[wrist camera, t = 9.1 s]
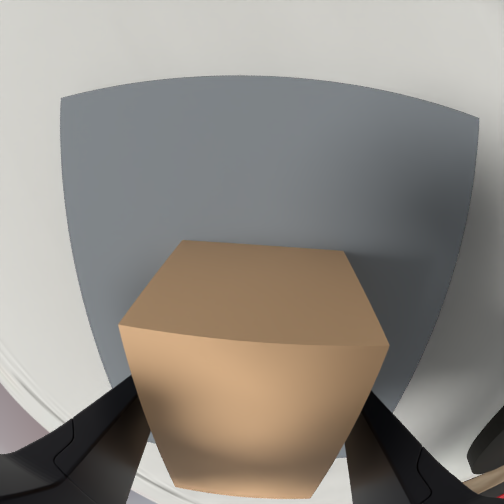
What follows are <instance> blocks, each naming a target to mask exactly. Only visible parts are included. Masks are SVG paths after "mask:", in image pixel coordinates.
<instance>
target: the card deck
mask: <svg viewBox="0 0 504 504" xmlns="http://www.w3.org/2000/svg"><path fill="white" fill-rule="evenodd" d="M118 326H119V330H120V334H121V338H122V342H123V346H124V350H125V354H126V357H127V361H128V364H129V368H130V371H131V374H132V378H133V381H134V384H135V387H136V390H137V393H138V396H139V399H140V402H141V405H142V408H143V411H144V414H145V416H146V419H147V422H148V425H149V427H150V430H151V432H152V435H153V437H154V440H155V442H156V445H157V447H158V450H159V452H160V454H161V457H162V459H163V461H164V464H165V466H166V468H167V470H168V472H169V475H170V477H171V479H172V481H173V483H174V485H175V487H179V488H184V489H189V490H194V491H200V492H207V493H213V494H221V495H230V496H240V497H252V498H272V499H308V498H311V496H312V495H313V493H314V492H315V491H316V489H317V488H318V486H319V484H320V483H321V481H322V480H323V478H324V477H325V475H326V474H327V472H328V470H329V469H330V467H331V465H332V464H333V462H334V460H335V459H336V457H337V455H338V454H339V452H340V450H341V448H342V447H343V445H344V443H345V441H346V439H347V438H348V436H349V434H350V432H351V430H352V428H353V426H354V424H355V422H356V420H357V418H358V416H359V414H360V412H361V410H362V408H363V406H364V404H365V402H366V400H367V398H368V396H369V394H370V391H371V389H372V387H373V385H374V382H375V380H376V378H377V376H378V373H379V371H380V368H381V366H382V364H383V361H384V359H385V356H386V354H387V351H388V349H389V346H390V345H389V343H388V340H387V338H386V336H385V334H384V332H383V329H382V327H381V325H380V323H379V321H378V319H377V317H376V314H375V312H374V310H373V308H372V306H371V304H370V302H369V300H368V298H367V296H366V294H365V292H364V290H363V288H362V286H361V284H360V282H359V280H358V278H357V276H356V274H355V272H354V270H353V268H352V266H351V264H350V262H349V261H348V259H347V257H346V255H345V253H344V251H338V250H324V249H310V248H296V247H281V246H267V245H252V244H237V243H222V242H207V241H191V240H182V241H181V242H180V244H179V245H178V246H177V247H176V249H175V250H174V251H173V252H172V254H171V255H170V256H169V257H168V259H167V260H166V261H165V262H164V264H163V265H162V266H161V268H160V269H159V270H158V271H157V273H156V274H155V275H154V277H153V278H152V279H151V281H150V282H149V283H148V285H147V286H146V287H145V289H144V290H143V291H142V293H141V294H140V295H139V297H138V298H137V299H136V301H135V302H134V303H133V305H132V306H131V307H130V309H129V310H128V311H127V313H126V314H125V316H124V317H123V318H122V320H121V321H120V322H119V324H118Z"/></svg>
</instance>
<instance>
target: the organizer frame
mask: <svg viewBox="0 0 504 504" xmlns="http://www.w3.org/2000/svg"><path fill="white" fill-rule="evenodd" d="M502 482H504V465H503V466H501V467H499V468H497V469H495V470H492V471H490V472H487V473H485V474H483V475H480V476H478V477H475V478H473V479H471V480H468V481H465V482H463V484H465V485H466V486H467V487H468V488H470V489H471V490H472V491H474V492H476V493H478V494H480V493H482V492H484V491H486V490H488V489H490V488H492V487H494V486H496V485H498V484H500V483H502Z"/></svg>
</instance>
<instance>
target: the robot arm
mask: <svg viewBox="0 0 504 504" xmlns="http://www.w3.org/2000/svg"><path fill="white" fill-rule="evenodd" d="M150 432H151V430H150V427H149V425H148V422H147V419H146V416H145V414H144V411H143V408H142V405H141V402H140V399H139V396H138V393H137V390H136V387H135V384H134V381H133V378H132V374H131V375H130V376H129V377H127V378H126V379H125V380H123V381H122V382H121V383H119V384H118V385H117V386H115V387H114V388H113V389H111V390H110V391H109V392H107V393H106V394H104V395H103V396H102V397H100V398H99V399H98V400H96V401H95V402H94V403H92V404H91V405H89V406H88V407H87V408H85V409H84V410H83V411H81V412H80V413H78V414H77V415H76V416H74V417H73V419H70V420H69V421H67V422H66V423H64V424H63V425H61V426H60V427H59V428H57V429H56V430H54V431H52V432H51V433H49V434H47V435H46V436H44V437H42V438H40V439H39V440H37V441H35V442H33V443H31V444H29V445H27V446H25V447H24V448H21V449H20V450H18V451H15V452H12V453H8V454H0V504H126V501H127V498H128V495H129V492H130V489H131V487H132V484H133V481H134V478H135V475H136V472H137V469H138V466H139V463H140V460H141V458H142V455H143V452H144V449H145V446H146V443H147V441H148V438H149V435H150ZM344 444H345V451H346V457H347V464H348V471H349V478H350V485H351V493H352V501H353V504H504V498H495V497H488V496H483V495H480V494H478V493H476V492H474V491H472V490H471V489H470V488H468V487H467V486H466V485H465V484H463V483H462V482H461V481H460V480H458V479H457V478H456V477H455V476H454V475H452V474H451V473H450V472H449V471H448V470H447V469H445V468H444V467H443V466H442V465H441V464H440V463H439V462H438V461H437V460H436V459H435V458H434V457H433V456H432V455H431V454H430V453H429V452H428V451H427V450H426V449H425V448H424V447H422V445H421V444H420V442H419V441H418V440H417V439H416V438H415V437H414V436H413V435H412V434H411V433H410V432H409V431H408V429H407V428H406V427H405V426H404V425H403V424H402V423H401V422H400V421H399V420H398V419H397V418H396V416H395V415H394V414H393V413H392V412H391V411H390V410H389V409H388V408H387V407H386V406H385V405H384V403H383V402H382V401H381V400H380V399H379V398H378V397H377V396H376V395H375V394H374V393H373V391H372V390H371V391H370V394H369V396H368V398H367V400H366V402H365V404H364V406H363V408H362V410H361V412H360V414H359V416H358V418H357V420H356V422H355V424H354V426H353V428H352V430H351V432H350V434H349V436H348V438H347V439H346V441H345V443H344Z"/></svg>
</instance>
